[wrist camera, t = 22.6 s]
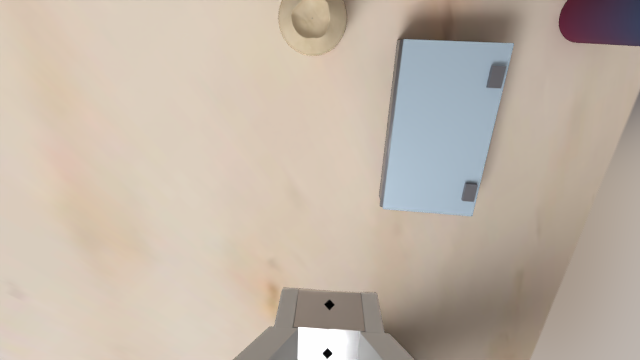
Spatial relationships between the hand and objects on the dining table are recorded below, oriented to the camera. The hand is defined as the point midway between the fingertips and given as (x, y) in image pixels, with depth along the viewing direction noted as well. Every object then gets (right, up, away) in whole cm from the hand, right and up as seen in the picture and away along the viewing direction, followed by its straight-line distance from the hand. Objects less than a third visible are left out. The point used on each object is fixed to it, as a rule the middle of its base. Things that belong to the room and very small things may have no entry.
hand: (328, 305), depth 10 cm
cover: (+12, +9, +24) cm, 29 cm away
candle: (-1, +20, +24) cm, 31 cm away
